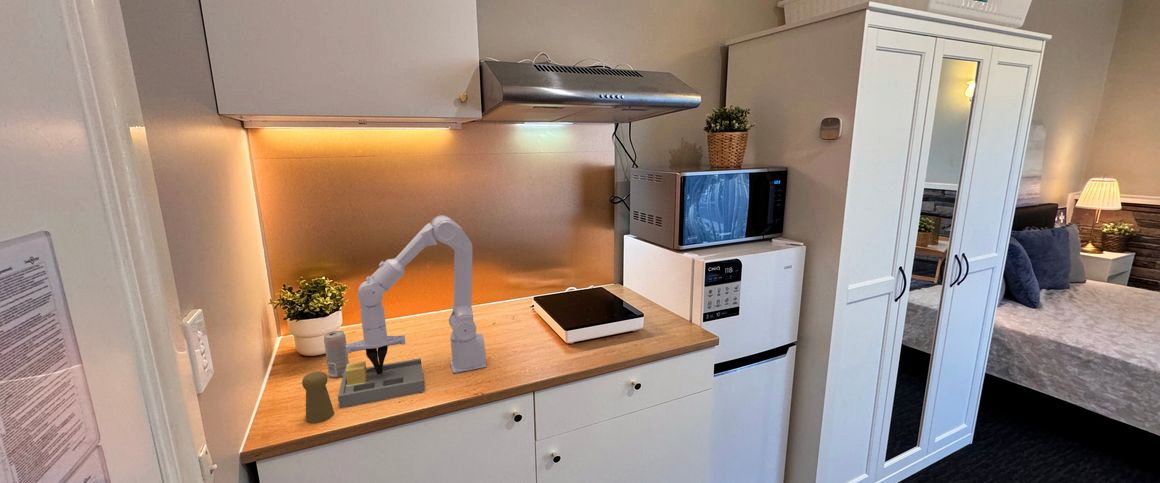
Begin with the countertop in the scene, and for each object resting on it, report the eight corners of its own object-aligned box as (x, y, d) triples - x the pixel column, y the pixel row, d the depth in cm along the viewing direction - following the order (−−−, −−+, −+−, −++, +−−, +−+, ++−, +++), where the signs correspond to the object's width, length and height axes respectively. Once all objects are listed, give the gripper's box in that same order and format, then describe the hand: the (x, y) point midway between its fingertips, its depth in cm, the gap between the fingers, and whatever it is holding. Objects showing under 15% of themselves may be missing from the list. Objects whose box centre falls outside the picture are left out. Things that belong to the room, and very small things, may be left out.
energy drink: (344, 367, 136) (339, 329, 134) (353, 372, 133) (348, 333, 130) (325, 374, 132) (320, 335, 130) (334, 380, 129) (328, 339, 126)
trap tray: (421, 368, 135) (420, 358, 134) (424, 391, 122) (423, 380, 121) (345, 382, 128) (343, 371, 127) (339, 408, 115) (337, 396, 114)
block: (367, 374, 128) (365, 360, 127) (366, 381, 124) (364, 368, 123) (348, 377, 126) (347, 363, 125) (347, 385, 122) (345, 371, 121)
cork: (310, 411, 114) (304, 369, 112) (337, 407, 115) (331, 366, 113) (301, 425, 108) (295, 382, 106) (330, 421, 110) (324, 378, 107)
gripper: (402, 316, 130) (407, 361, 133) (345, 324, 125) (351, 371, 128) (403, 325, 124) (408, 372, 126) (342, 334, 119) (349, 382, 121)
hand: (379, 372), depth 127 cm, fingers closed
